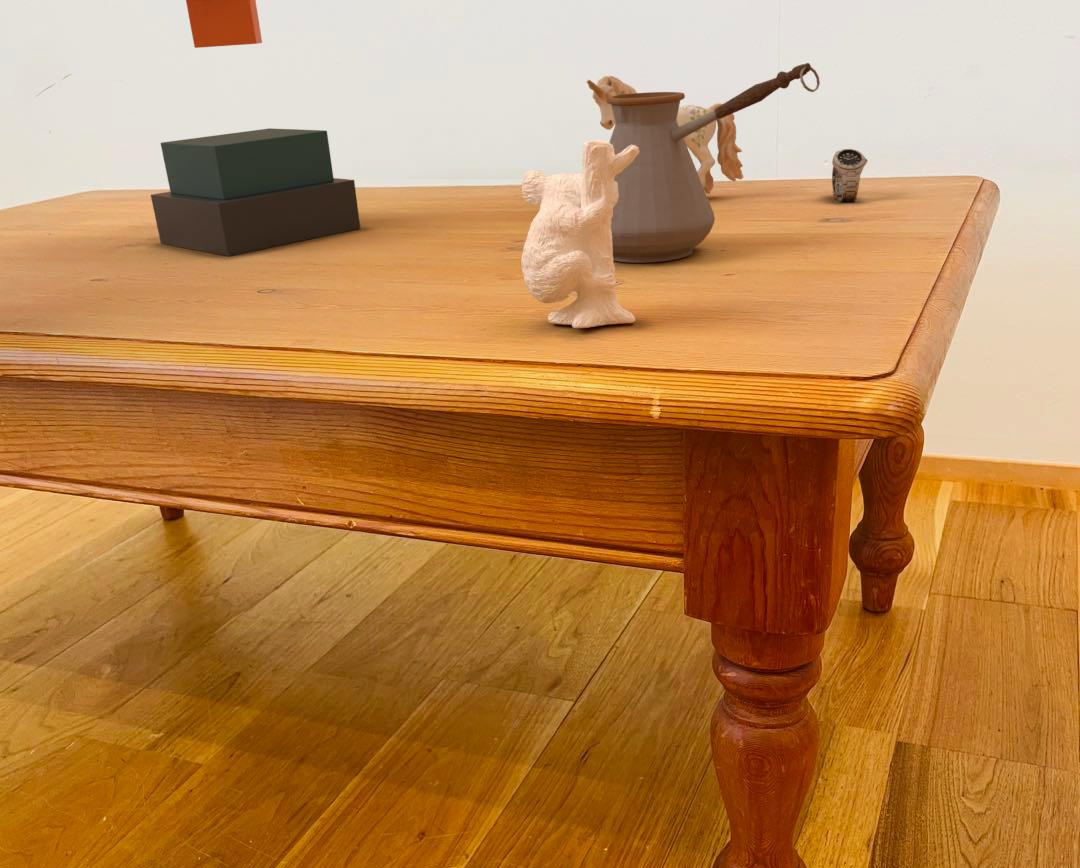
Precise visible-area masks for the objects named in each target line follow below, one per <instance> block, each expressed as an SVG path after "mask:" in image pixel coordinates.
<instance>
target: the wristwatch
mask: <svg viewBox="0 0 1080 868" xmlns="http://www.w3.org/2000/svg"><path fill="white" fill-rule="evenodd" d="M867 163H868V158H866V157H865V155H864V154H863V153H862V152H861V151H859V150H857V149H853V148H843V149H841V150H837V151H835V153H834V155H833V156H832V171H831V188H832V194H833V198H834V200H837V201H838V202H840V203H845V202H846V203H847V202H856V200H857V195H858V193H859V192H858V191H859V188H860V187H859V186H860V182H861V181H860V180H861V175H862V172H863V170H864V167H865V166H866V165H867Z"/></svg>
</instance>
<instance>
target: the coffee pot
mask: <svg viewBox="0 0 1080 868" xmlns="http://www.w3.org/2000/svg"><path fill="white" fill-rule="evenodd" d="M809 72H812V73H813V74H814V77H815V78H816V85H815V88H814V89H812V88H810V87H809V86H808V85H807V84H806V83H805V81H804V76H805V75H807V74H808V73H809ZM799 79H800V83H801V84H802V87H803V88H804V89H805V90H806V91H807V92H811V93H815V92H816V91H817V90H819V87H820V85H821V82H820V76H819V74H818V72H817V71H816V70H815V69H814V68H813V66H812V65H811V64H810V63H809V62H806V63H804V64H803V63H802V64H798V65H796V66H794V67H793V68H792V69H791V70H790V71H787V72H786V71H779V72H778V73H777V75H776V77H774V78H772V79H767V80H765V81H763V82H759V83H756V84H754V85H752V86H751V87H749V88H747V89H746V90H744V91H742V92H741V93H738V94H737V95H736V96H734V97H732V98H731V99H729V100H727V101H726V102H723V103H721V104H722V105H721V106H719V107H717V108H716V109H715V110H713V111H711V112H709V113H707V114H705V115H703V116H701V117H699V118H697V119H695V120H693V121H691V122H688V123H686V124H684V125H682V126H680V127H679V126H678V123H677V114H678V109H679V107H680V104H681V101H682V100H684V99H685V98H686V95H685V93H684V92H680V91H679V92H677V91H653V92H651V91H650V92H649V91H648V92H637V93H634V94H624V95H617V96H612V97H608V98H607V103H609V104H611V106H612V110H613V114H614V118H615V124H614V126H613V130H612V134H611V136H610V139H609V141H608V142H609V143H610V144H612V145H613V148H614V153H615V155H617V154H619V153H621V152H622V151H623V150H624V149H626V148H627V147H628V146H630V145H635V146H637V147H638V148H639V154H638V155H637V156H636V157H635V159H634V160H633V162H631V163H630V164H629V165H628V166H627V167H626V168H625V169H624V170H623V171H622V172H620V173H619V174H617V175H616V176H615V179H614V181H616V182H617V183H618V193H619V197H618V201H617V203H616V205H615V206H614V207H613V216H612V218H611V231H612V246H613V262H621V263H622V262H623V263H659V262H668V261H674V260H679V259H682V258H685V257H686V258H687V257H688V256H690V255H692V254H693V252H694V251H693V249H694V248H695V247H697V246H699V245H700V244H701V243H702V242H703V241H704V240H705V239H706V238H707V236H708V235H709V234H710V233H711V231H712V228H713V226H714V224H715V220H716V218H715V217H716V216H715V213H714V211H713V208H712V205H711V202H710V201H709V199H708V196H707V193H706V192H705V190H704V188H703V185H702V183H701V180H700V178H699V175H698V173H697V172H698V170H697V168H696V165H695V163H694V161H693V158H692V155H691V152H690V150H689V148H688V147H687V146H686V143H685V141H684V137H686V136H688V135H690V134H692V133H693V132H695V131H697V130H699V129H701V128H702V127H704V126H706V125H708V124H710V123H712V122H713V121H715V120H717V119H721V118H723V117H726V116H728V115H730V114H733V115H734V114H735V113H737V112H739V111H742V110H744V109H747V108H749V107H750V106H753V105H756V104H758V103H760V102H762V101H763V100H765V99H766V98H767V97H769V96H770V95H772V94H773V93H774V92H776V91H777V90H779V89H783V90H784V89H787V88H788V87H789V86H790V84H791V82H793V81H794V80H799Z"/></svg>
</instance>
